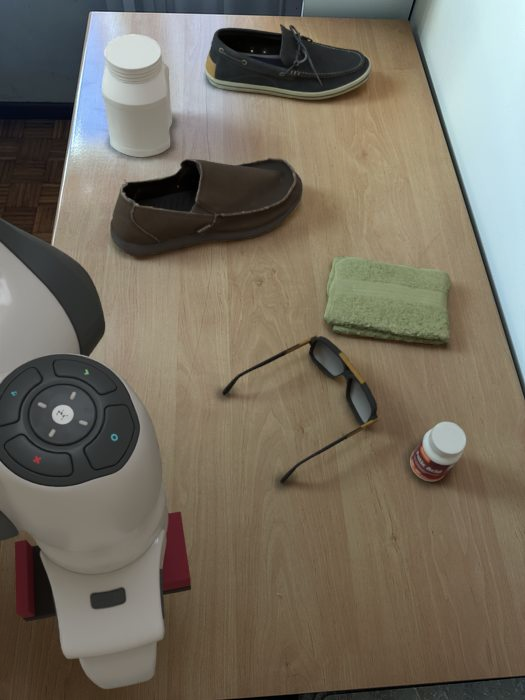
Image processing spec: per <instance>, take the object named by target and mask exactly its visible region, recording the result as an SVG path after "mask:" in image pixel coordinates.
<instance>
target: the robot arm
mask: <svg viewBox="0 0 525 700" xmlns="http://www.w3.org/2000/svg"><path fill="white" fill-rule="evenodd" d="M105 332H106V320H105V313H104V309H103V306H102V301H101V298H100V295H99V292H98V289H97V287H96V285H95V283H94V281H93V278H92V277H91V276H90V274H89V272H88V271H87V270H86V269H85V268H84V267H83V266H82V264H80V263H79V262H78V261H77V260H75V258H73V257H72V256H70V255H68V254H67V253H66V252H64V251H63V250H61V249H59V248H57V247H56V246H54V245H52V244H50V243H49V242H46V241H45V240H43V239H41V238H39V237H37V236H35V235H33V234H31V233H29V232H27V231H25V230H23V229H22V228H19V227H17V226H15V225H14V224H11V223H9V221H6V220H5V219H3V218H2V217H0V542H3V541H7V540H10V539H12V538H15V537H18V536H19V535H20V533H21V532H26V533H28V534H29V535H30V536H31V537H32V538H33V541H34V542H35V543H36V545H38V546H39V547H40V549H41V551H40V557H41V560H42V562H43V565H44V567H45V570H46V572H47V575H48V578H49V581H50V584H51V588H52V595H53V601H54V606H55V612H56V616H55V619H56V625H57V632H58V637H59V641H60V649H61V652H62V655H63V656H64V657H65V658H66V659H68V660H73V659H78V660H79V663H80V666H81V668H82V670H83V672H84V673H85V675H86V676H87V678H89V680H90V681H91V682H92V683H94V684H95V685H96V686H97V687H99V688H101V689H103V690H111V689H117V688H122V687H127V686H131V685H136V684H141V683H144V682H147V681H150V680H151V679H153V677H154V676H155V673H156V665H157V651H158V650H157V649H158V648H157V647H158V646H157V645H158V642H160V641H162V640H163V639H164V637H165V635H166V630H165V621H164V620H165V619H166V615H165V604H164V603H165V602H164V595H163V571H162V568H163V560H164V554H165V548H166V532H167V527H168V513H169V509H168V503H167V502H168V501H167V500H168V499H167V493H166V487H165V486H166V485H165V481H164V478H163V462H162V456H161V450H160V444H159V441H158V436H157V431H156V429H155V426H154V422H153V420H152V418H151V415H150V413H149V412H148V410H147V408H146V406H145V404H144V402H143V401H142V399H141V397H140V396H139V395H138V394H137V392H136V391H135V390H134V389H133V387H132V386H131V385H130V384H129V383H128V382H127V381H126V379H124V377H123V376H121V375H120V374H119V373H118V372H117V371H116V370H115V369H113V367H111V366H109V365H108V364H106V363H104V362H103V361H101V360H98V359H96V358H93V357H91V354H92V353H93V352H94V350H95V349H96V348H97V346H98V345H99V343H100V342H101V340H102V339H103V337H104V335H105Z"/></svg>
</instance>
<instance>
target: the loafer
mask: <svg viewBox="0 0 525 700" xmlns="http://www.w3.org/2000/svg"><path fill="white" fill-rule="evenodd" d="M179 166H180V167H179V169H178V170H177V172H176V173H173V174H172V175H167V176H162V177H156V178H151V179H145V180H135V181H127V180H126V179H125V178H124V179H123V181H124V183H122V185H121V186H120V189H119V193H118V196H117V198H116V202H115V205H114V209H113V212H112V216H111V217H112V218H111V220H110V225H109V226H110V227H109V232H110V237H111V239H112V241H113V243H114V244H115V246H116V247H117V248H118V249H120V251H122V252H124V253H126V254H128V255H131V256H136V257H137V256H138V257H139V256H140V257H141V256H149V255H155V254H160V253H165V252H169V251H173V250H177V249H181V248H185V247H190V246H193V245H197V244H202V243H207V242H219V241H237V240H244V239H251V238H254V237H258V236H261V235H263V234H266V233H268V232H269V231H271V230H273V229H275V228H277V227H278V226H279V225H281V224H282V223H283V222H284V221H286V220H287V219H288V217H290V216H291V215H292V213H293V212H294V211H295V210H296V209H297V207H298V205H300V202H301V199H302V196H303V191H304V190H303V189H304V186H303V180H302V178H301V177H300V175H299V174H298V173H297V172H296V170H295V168H294V167H293V165H291V163H289V161H287V160H285V159H283V158H281V157H280V158H278V157H277V158H276V157H275V158H273V157H268V158H263V159H257V160H252V161H249V162H243V163H239V164H229V163H228V164H227V163H221V162H215V161H209V160H204V159H197V158H196V159H195V158H185V159H183V160H182V161H181V162H180V163H179Z"/></svg>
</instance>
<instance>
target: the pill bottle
mask: <svg viewBox="0 0 525 700" xmlns="http://www.w3.org/2000/svg"><path fill="white" fill-rule="evenodd" d="M466 446H467V436H466V433H465V431H464V430H463V429H462V427H461V426H459V425H458V424H457V423H454V422H452V421H441V422H438V423H437V424H436V425H434V427H432V428H431V429H429V430H427V432H426V433H425V434H424V435H423V437H422V438H421V439H420V441H419V443H418V444H417V445H416V447H415V448H414V450H413V451H412V453H411V454H410V458H409V463H410V468H411V470H412V472H413V473H414V474H415V475H416V476H417V477H418V478H419V479H421V480H422V481H425V482H430V483H431V482H432V483H433V482H437V481H440V480H441V479H443V478H444V477H445V476H446V475H447V473H449V472H450V470H452V469H453V467H454V466H455V465H456V463H457V462H458V461H459V460H460V459H461V458H462V455H463V452H464V449H465V448H466Z"/></svg>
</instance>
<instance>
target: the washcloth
mask: <svg viewBox="0 0 525 700" xmlns="http://www.w3.org/2000/svg"><path fill="white" fill-rule="evenodd" d="M451 283H452V281H451V278H450V275H449V273H448V272H447V271H445V270H443V269H437V268H436V269H435V268H422V267H417V266H410V265H406V264H399V263H390V262H384V261H378V260H373V259H368V258H364V257H359V256H358V257H357V256H344V255H343V256H336V257H334V258H333V260H332V264H331V270H330V273H329V276H328V279H327V283H326V294H327V301H326V307H325V311H324V315H323V322H325V323H326V325H330V326H332V325H333V326H332V327H333V328H332V333H335V334H338V335H342V334H344V335H349V336H358V337H361V338H362V337H363V338H366V337H367V338H369V337H370V338H374V339H381V340H390V341H397V342H401V341H402V342H406V343H416V344H417V343H419V344H421V343H422V344H424V345H426V344H427V345H428V344H432V345H433V346H434V345H436V346H438V345H441V344H442V345H443V344H447V343H449V342H450V340H451V331H450V330H451V327H450V323H449V320H450V312H449V311H448V299H449V296H450V291H451V290H450V289H451V287H452V284H451Z"/></svg>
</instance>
